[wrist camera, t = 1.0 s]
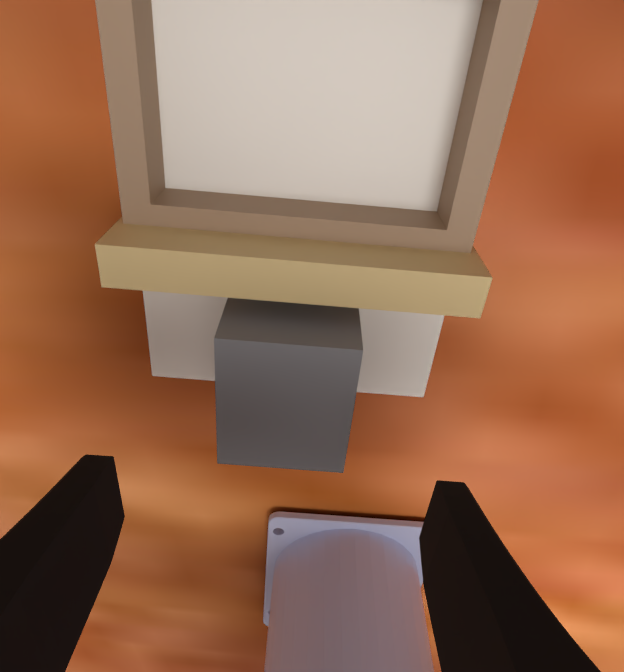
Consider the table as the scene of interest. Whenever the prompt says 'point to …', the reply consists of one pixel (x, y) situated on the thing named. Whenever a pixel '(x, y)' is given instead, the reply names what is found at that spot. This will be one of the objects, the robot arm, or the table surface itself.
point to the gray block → (286, 383)
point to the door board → (306, 165)
